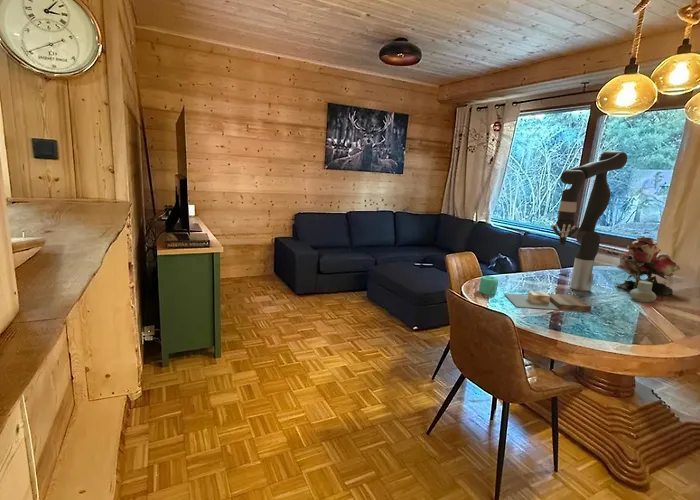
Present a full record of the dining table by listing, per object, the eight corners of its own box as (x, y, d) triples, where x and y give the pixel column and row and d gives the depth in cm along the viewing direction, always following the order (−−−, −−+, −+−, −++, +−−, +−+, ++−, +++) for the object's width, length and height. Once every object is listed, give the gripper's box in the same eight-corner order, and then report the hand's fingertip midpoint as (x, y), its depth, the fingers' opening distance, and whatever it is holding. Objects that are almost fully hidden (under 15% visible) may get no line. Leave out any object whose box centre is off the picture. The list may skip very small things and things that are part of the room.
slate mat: (543, 297, 201) (543, 296, 201) (559, 310, 183) (560, 309, 183) (504, 294, 203) (504, 293, 202) (516, 307, 184) (516, 306, 184)
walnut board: (573, 300, 199) (574, 295, 198) (590, 311, 183) (591, 306, 183) (545, 298, 200) (546, 293, 199) (559, 309, 184) (559, 304, 184)
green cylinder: (478, 293, 203) (480, 278, 201) (481, 289, 210) (482, 274, 208) (494, 296, 199) (496, 281, 198) (496, 292, 206) (498, 277, 205)
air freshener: (631, 301, 201) (635, 282, 199) (627, 296, 208) (630, 278, 206) (657, 304, 197) (661, 285, 195) (651, 300, 205) (655, 281, 203)
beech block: (544, 299, 195) (545, 292, 194) (549, 304, 189) (550, 296, 188) (527, 298, 196) (528, 291, 195) (532, 302, 190) (533, 295, 189)
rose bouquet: (680, 294, 217) (692, 241, 211) (642, 297, 208) (654, 242, 202) (635, 280, 241) (645, 232, 235) (599, 283, 232) (608, 233, 226)
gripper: (577, 210, 200) (571, 243, 203) (550, 209, 201) (545, 242, 204) (584, 212, 193) (578, 246, 196) (556, 210, 193) (551, 245, 197)
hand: (561, 244), depth 200 cm, fingers closed
